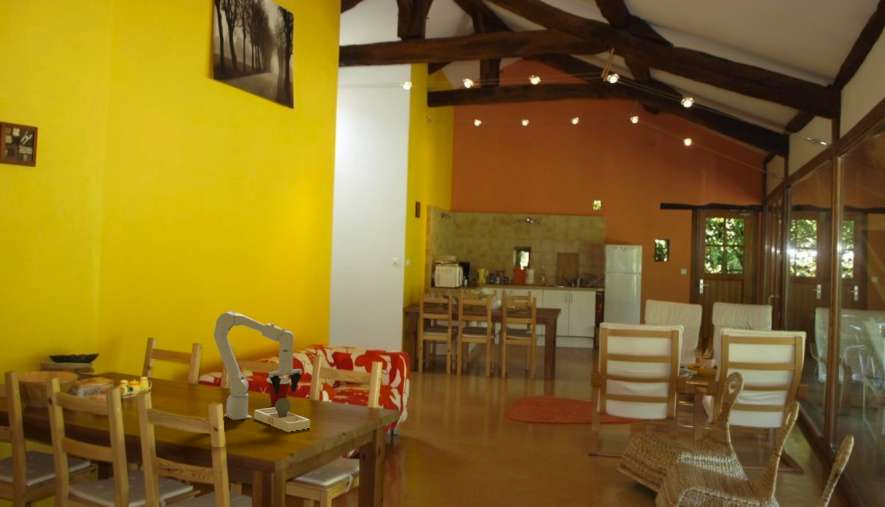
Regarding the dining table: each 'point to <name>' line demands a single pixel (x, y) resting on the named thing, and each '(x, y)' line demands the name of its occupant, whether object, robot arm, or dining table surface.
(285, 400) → the light bulb
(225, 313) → the robot arm
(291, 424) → the rack
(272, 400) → the plastic cup
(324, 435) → the dining table surface
